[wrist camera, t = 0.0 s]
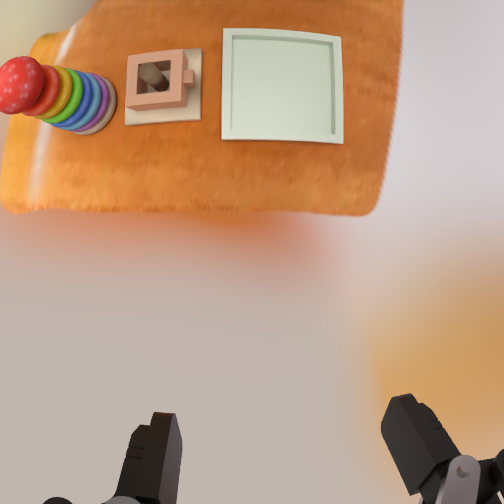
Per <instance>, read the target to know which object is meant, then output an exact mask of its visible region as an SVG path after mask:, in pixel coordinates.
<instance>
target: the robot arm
mask: <svg viewBox="0 0 504 504" xmlns="http://www.w3.org/2000/svg"><path fill="white" fill-rule="evenodd" d="M381 433H382V436H383V438H384V440H385V442H386V444H387V447H388V449H389V451H390V453H391V455H392V457H393V459H394V462H395V464H396V466H397V468H398V470H399V472H400V475H401V477H402V479H403V481H404V483H405V485H406V488H407V490H408V492H409V494H410V496H411V495H414V494H417V493H419V492H420V493H421V495H422V497H421V498H420V500H419V503H418V504H502V503H501V501H500V499H499V497H498V495H497V493H498V492H499V491H500V492H501V494H502V496H503V498H504V449H503V450H501V451H500V452H499V453H498V455H497V456H496V457H495V458H492V459H486V460H480V461H477V460H476V459H475V458H473V457H471V456H468V455H461V453H460V452H459V451H458V449H457V447H456V446H455V444H454V443H453V442H452V440H451V438H450V436H448V433H447V432H446V430H445V429H444V428H443V427H442V424H441V423H440V421H438V418H437V417H436V415H435V414H434V412H433V411H432V410H431V409H430V408H429V407H427V406H426V405H425V404H423V403H418V402H417V401H416V399H415V397H414V396H413V395H412V394H410V393H408V394H404V395H400V396H396V397H393V398H391V400H390V402H389V405H388V407H387V410H386V412H385V415H384V417H383V420H382V422H381ZM128 447H129V448H128V449H127V452H126V458H125V460H124V463H123V467H122V471H121V474H120V478H119V482H118V486H117V490H116V492H115V494H114V496H113V497H112V498H111V499H109V500H108V501H107V502H105V503H102V504H176V500H177V491H178V482H179V473H180V465H181V456H182V438H181V434H180V430H179V426H178V423H177V418H176V415H175V414H174V413H161V412H154V413H153V416H152V419H151V423H150V426H149V425H139V427H138V428H137V429H136V430H135V431H134V432H133V433H132V435H131V439H130V442H129V446H128ZM43 504H72V503H71V502H70V501H69V500H67V499H64V498H60V497H53V498H50V499H48V500H46V501H45V502H44V503H43Z"/></svg>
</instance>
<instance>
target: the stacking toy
mask: <svg viewBox="0 0 504 504" xmlns="http://www.w3.org/2000/svg"><path fill="white" fill-rule="evenodd" d="M115 106H116V93H115V90H114V87H113V85H112V84H111V82H110V81H109V80H108V79H106V78H104V77H102V76H99V75H96V74H93V73H83V72H80V71H76V70H71V69H68V68H63V67H61V66H49V65H40V64H39V63H38V62H37V61H36V60H35V59H33V58H31V57H27V56H21V57H16V58H13V59H11V60H9V61H7V62H6V63H5V64H4V65H2V67H1V68H0V111H1V112H3V113H5V114H17V113H20V112H21V113H23V114H24V115H27V116H34V117H35V118H38V119H41V120H43V121H44V122H46V123H49V124H51V125H53V126H55V127H59V128H61V129H64V130H69V131H71V132H73V133H75V134H78V135H90V134H93V133H95V132H97V131H99V130H100V129H102V128H103V127H104V126H105V125H106V124H107V123H108V121H109V120H110V118H111V117H112V115H113V113H114V110H115Z"/></svg>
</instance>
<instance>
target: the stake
mask: <svg viewBox="0 0 504 504" xmlns="http://www.w3.org/2000/svg"><path fill="white" fill-rule="evenodd" d="M183 50H184V52H185V54H186V56H187V59H188V69H193V71H194V73H195V87H187V107H180V108H167V109H156V110H146V111H134V110H132V109H130V108H127V107H125V125H126V126H135V125H144V124H155V123H167V122H181V121H200V120H201V92H202V57H203V52H202V48H196V49H183ZM127 67H128V65H127ZM138 74H139V76H140V78H142V79H143V80H144V81H145V82H147V93H154V92H164V91H170V70H169V71H159V69H158V68H157V67H156V66H155V65H154V64H153V63H145V64H143V65H142V66H141V67H140V68H139V71H138ZM126 82H127V79H126ZM125 105H126V100H125Z"/></svg>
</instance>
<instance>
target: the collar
mask: <svg viewBox="0 0 504 504" xmlns="http://www.w3.org/2000/svg"><path fill="white" fill-rule="evenodd" d="M145 63H153V64H154V65H155V66H156V67H157V68H158V69H159V71H169V70H170V91H164V92H154V93H147V82H145V81H144V80H143V79H142V78H140V76H139V74H138V71H139V68H140V67H141V66H142V65H143V64H145ZM187 87H195V73H194V71H193V69H188V59H187V56H186V54H185V52H184V50H183V49H176V50H166V51H158V52H150V53H143V54H136V55H130V56H128V67H127V82H126V105H125V107H127V108H130V109H132V110H134V111H146V110H156V109H167V108H180V107H187Z"/></svg>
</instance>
